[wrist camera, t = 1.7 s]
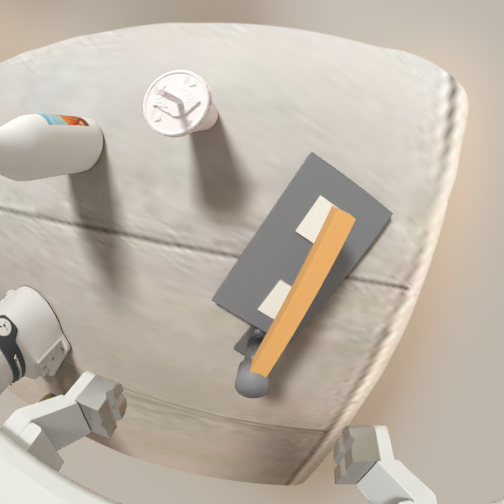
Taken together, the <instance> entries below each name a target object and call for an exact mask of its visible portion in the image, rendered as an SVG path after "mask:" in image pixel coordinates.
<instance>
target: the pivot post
mask: <svg viewBox="0 0 504 504" xmlns="http://www.w3.org/2000/svg"><path fill="white" fill-rule="evenodd" d="M266 334H267V333H266V332H264V331H262V330H260V329H259V328H257V327H255V326H254V325H251V326H250V328H249V329H248V330H247V331H246V333H245V334H244V335H243V336H242V338H241V339H240V340H239V341H238V342H237V344H236V345H235V346H234V350H236V351H238V352H240V353H242V354H243V355H245V358H244V360H246V359H249V358H253V357H254V355H255V353H256V351H257V350H258V348H259V346H260V344H261V343H262V341H263V339H264V337H265V335H266Z"/></svg>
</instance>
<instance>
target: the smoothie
mask: <svg viewBox="0 0 504 504" xmlns="http://www.w3.org/2000/svg"><path fill="white" fill-rule="evenodd" d="M143 113H144V117H145V119H146V122H147V123H148V125H149V126H150V127H151V128H152V129H153V130H154V131H156V132H157V133H159V134H162V135H165V136H169V137H181V136H185V135H188V134H190V133H192V132H195V131H203V130H207V129H210V128H211V127H212V126H214V124H215V123H216V121H217V119H218V111H217V108H216V106H215V105H214V103H213V101H212V94H211V91H210V88H209V86H208V84H207V83H206V82H205V80H204V79H202V78H201V77H200V76H199V75H197V74H195V73H193V72H191V71H187V70H174V71H170V72H167V73H165V74H163V75H161V76H160V77H158V78H157V79H156V80H155V81H154V82H153V83H152V84H151V86H150V87H149V88H148V90H147V92H146V94H145V97H144V102H143Z"/></svg>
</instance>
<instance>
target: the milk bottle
mask: <svg viewBox="0 0 504 504" xmlns="http://www.w3.org/2000/svg"><path fill="white" fill-rule="evenodd" d="M102 148H103V135H102V131H101V129H100V127H99V126H98V125H97V123H96V122H95V121H93V120H91V119H88V118H83V117H73V116H63V115H47V114H30V115H24V116H21V117H18V118H15V119H14V120H12V121H10V122H8V123H7V124H5V125H4V126H2V127H0V175H2V176H5V177H7V178H9V179H12V180H16V181H30V180H37V179H43V178H48V177H54V176H60V175H66V174H72V173H78V172H83V171H86V170H88V169H90V168H91V167H92V166H93V165H94V164H95V163H96V162H97V161H98V159H99V157H100V154H101V152H102Z"/></svg>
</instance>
